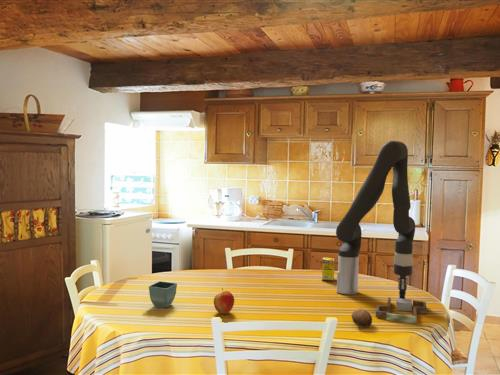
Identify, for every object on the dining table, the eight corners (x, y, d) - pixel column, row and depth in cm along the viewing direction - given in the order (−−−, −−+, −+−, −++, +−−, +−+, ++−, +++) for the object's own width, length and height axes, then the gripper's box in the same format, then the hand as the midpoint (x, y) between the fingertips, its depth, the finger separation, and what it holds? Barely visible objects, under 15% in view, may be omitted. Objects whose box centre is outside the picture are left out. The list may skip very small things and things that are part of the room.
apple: (226, 318, 172) (226, 292, 172) (209, 314, 177) (209, 289, 176) (238, 312, 179) (238, 287, 178) (221, 308, 183) (221, 284, 183)
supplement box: (333, 281, 226) (334, 260, 225) (321, 281, 227) (322, 259, 226) (333, 278, 231) (334, 258, 231) (322, 278, 233) (322, 257, 232)
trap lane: (375, 318, 173) (375, 312, 173) (378, 302, 194) (378, 296, 194) (428, 325, 167) (428, 318, 167) (425, 307, 188) (425, 301, 188)
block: (396, 310, 184) (396, 302, 184) (396, 306, 190) (396, 297, 190) (411, 312, 183) (412, 303, 182) (411, 307, 188) (411, 299, 188)
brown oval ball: (346, 312, 171) (355, 302, 168) (365, 319, 172) (373, 309, 169) (348, 328, 164) (356, 318, 161) (367, 336, 165) (376, 326, 162)
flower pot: (177, 303, 188) (177, 283, 188) (167, 310, 180) (167, 288, 179) (159, 301, 191) (159, 280, 191) (148, 307, 183) (148, 286, 182)
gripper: (394, 259, 198) (392, 297, 199) (393, 265, 185) (392, 306, 186) (412, 260, 195) (410, 299, 197) (413, 267, 183) (411, 308, 184)
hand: (401, 302), depth 191 cm, fingers closed
